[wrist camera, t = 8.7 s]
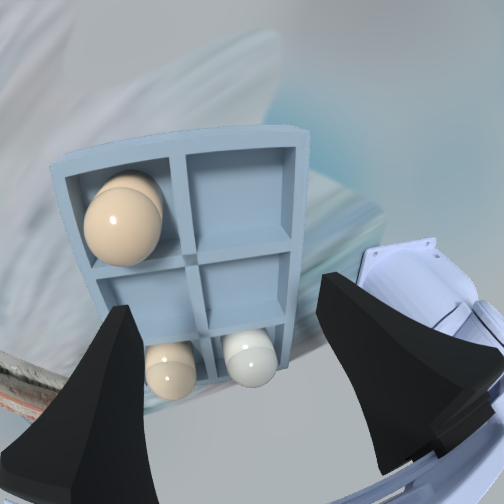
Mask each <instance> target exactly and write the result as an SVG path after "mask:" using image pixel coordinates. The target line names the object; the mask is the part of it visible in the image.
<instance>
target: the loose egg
mask: <svg viewBox="0 0 504 504" xmlns="http://www.w3.org/2000/svg"><path fill="white" fill-rule="evenodd" d="M163 209H164V196H163V193H162V190H161V188H160V186H159V184H158V183H157V182H156V181H155V180H154V179H153V178H152V177H151V176H149V175H148V174H146V173H144V172H141V171H137V170H124V171H121V172H118V173H116V174H114V175H113V176H111V177H110V178H109V179H108V180H107V181H106V182H105V184H104V185H103V186H102V188H101V189H100V190H99V192H98V193H97V195H96V196H95V198H94V199H93V200H92V202H91V203H90V205H89V207H88V209H87V211H86V214H85V218H84V236H85V239H86V242H87V245H88V247H89V248H90V250H91V251H92V253H93V254H94V255H95V256H96V257H97V258H98V259H100V260H101V261H102V262H104V263H106V264H109V265H111V266H116V267H128V266H132V265H135V264H138V263H140V262H141V261H143V260H144V259H146V258H147V257H148V256H149V255H150V254H151V253H152V252H153V250H154V249H155V247H156V246H157V243H158V241H159V239H160V235H161V230H162V219H163Z"/></svg>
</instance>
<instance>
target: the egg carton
mask: <svg viewBox="0 0 504 504" xmlns="http://www.w3.org/2000/svg"><path fill="white" fill-rule="evenodd" d="M310 133H311V132H309V131H307V130H304V129H301V128H298V127H296V126H293V125H248V126H230V127H217V128H205V129H195V130H186V131H178V132H170V133H163V134H156V135H150V136H144V137H138V138H133V139H127V140H122V141H117V142H112V143H107V144H103V145H98V146H94V147H90V148H85V149H81V150H78V151H74V152H70V153H67V154H66V155H64V156H63V157H61V158H60V159H58V160H57V161H56V162H54V163H53V164H51V165H50V166H49V169H50V173H51V178H52V182H53V186H54V190H55V194H56V198H57V202H58V206H59V209H60V213H61V216H62V220H63V223H64V226H65V229H66V232H67V235H68V239H69V241H70V244H71V247H72V250H73V253H74V256H75V259H76V261H77V264H78V267H79V269H80V272H81V274H82V277H83V279H84V282H85V284H86V287H87V289H88V291H89V294H90V296H91V298H92V300H93V303H94V305H95V307H96V309H97V311H98V314H99V316H100V318H101V320H102V322H104V320H105V318H106V317H107V315H108V313H109V312H110V310H111V309H112V307H113V306H119V305H129V307H130V310H131V313H132V315H133V318H134V320H135V323H136V325H137V328H138V330H139V332H140V335H141V337H142V339H143V342H144V357H145V348H146V346H150V345H158V344H166V343H174V342H182V341H189V340H190V341H191V342H192V347H193V354H194V362H195V369H196V377H197V378H196V384H195V386H198V385H205V384H211V383H217V382H223V381H229V380H233V379H232V378H231V377H230V375H229V373H228V371H227V368H226V363H225V359H224V355H223V350H222V346H221V341H220V336H221V335H227V334H233V333H238V332H244V331H249V330H255V329H260V328H265V327H266V330H267V332H268V335H269V337H270V340H271V342H272V345H273V348H274V350H275V353H276V356H277V360H278V366H277V370H282V369H286V368H288V365H289V358H290V351H291V344H292V337H293V330H294V322H295V314H296V306H297V298H298V289H299V280H300V271H301V261H302V251H303V240H304V229H305V216H306V203H307V189H308V173H309V155H310ZM124 170H137V171H141V172H144V173H146V174H148V175H149V176H151V177H152V178H153V179H154V180H155V181H156V182H157V183H158V184H159V186H160V188H161V190H162V193H163V196H164V209H163V219H162V230H161V235H160V239H159V241H158V243H157V246H156V247H155V249H154V250H153V252H152V253H151V254H150V255H149V256H148V257H147V258H146V259H144V260H143V261H141V262H140V263H138V264H135V265H132V266H128V267H116V266H111V265H109V264H106V263H104V262H102V261H101V260H100V259H98V258H97V257H96V256H95V255H94V254H93V253H92V251H91V250H90V248H89V247H88V245H87V242H86V239H85V236H84V218H85V214H86V211H87V209H88V207H89V205H90V203H91V202H92V200H93V199H94V198H95V196H96V195H97V193H98V192H99V190H100V189H101V188H102V186H103V185H104V184H105V182H106V181H107V180H108V179H109V178H110V177H111V176H113V175H114V174H116V173H118V172H121V171H124ZM277 370H276V371H277ZM144 391H151V389H150V388H149V386H148V384H147V381H146V376H145V378H144Z"/></svg>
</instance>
